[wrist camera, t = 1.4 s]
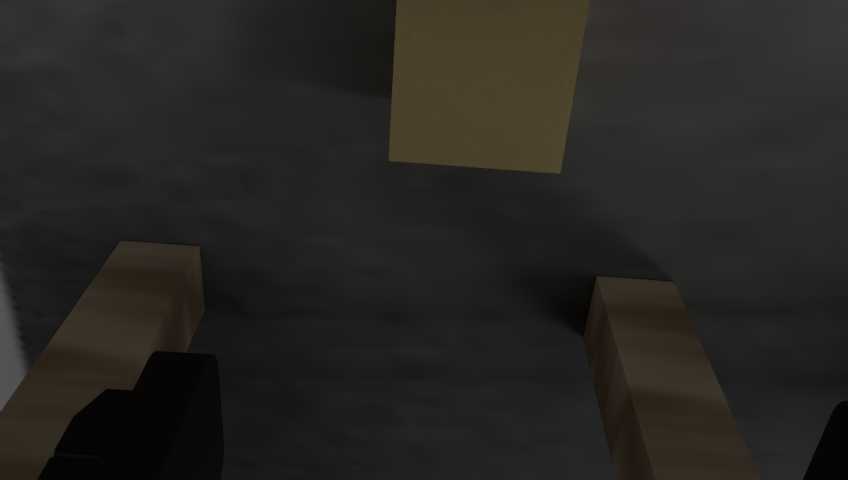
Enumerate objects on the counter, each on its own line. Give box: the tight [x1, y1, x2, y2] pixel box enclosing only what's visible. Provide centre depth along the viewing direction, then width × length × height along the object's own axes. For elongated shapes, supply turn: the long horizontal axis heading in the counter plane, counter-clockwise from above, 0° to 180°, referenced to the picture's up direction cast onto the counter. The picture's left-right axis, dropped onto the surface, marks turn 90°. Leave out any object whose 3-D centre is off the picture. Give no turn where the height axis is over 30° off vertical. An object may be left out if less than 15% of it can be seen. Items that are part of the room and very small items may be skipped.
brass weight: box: [389, 0, 590, 174], centre depth 24 cm, size 5×5×5 cm
